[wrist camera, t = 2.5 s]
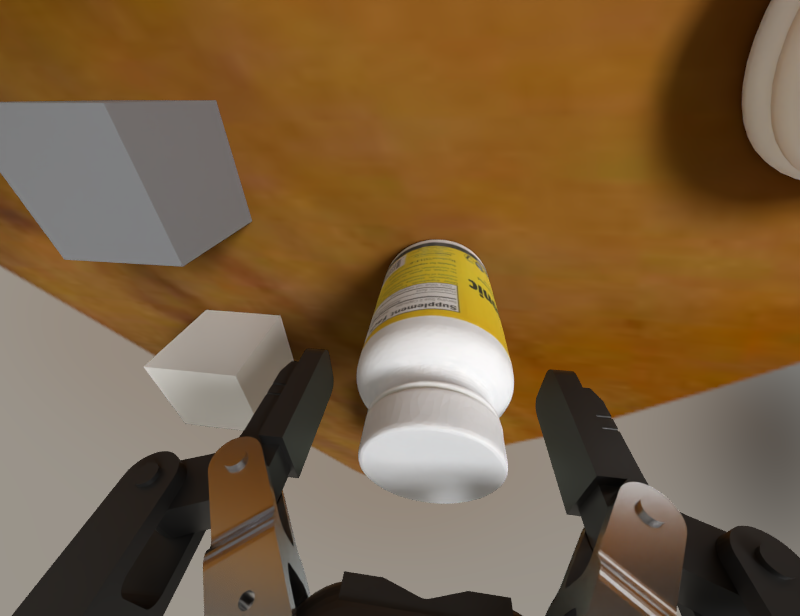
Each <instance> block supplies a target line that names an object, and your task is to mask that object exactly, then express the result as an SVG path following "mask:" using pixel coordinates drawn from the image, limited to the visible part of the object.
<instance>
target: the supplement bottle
mask: <svg viewBox="0 0 800 616" xmlns="http://www.w3.org/2000/svg"><path fill="white" fill-rule="evenodd" d="M357 386H358V390H359V394H360V396H361V398H362V400H363V402H364V404H365V405H366V407H367V408H368V412H367V416H366V420H365V424H364V428H363V433H362V438H361V442H360V447H359V453H358V458H359V464H360V466H361V468H362V470H363V472H364V473H365V475H366V476H367V477H368V478H369V479H370V480H372V481H373V482H374V483H375V484H377V485H378V486H380V487H381V488H383V489H385V490H387V491H389V492H391V493H393V494H396V495H398V496H401V497H404V498H408V499H412V500H416V501H422V502H429V503H439V504H445V503H446V504H449V503H461V502H468V501H472V500H476V499H480V498H482V497H485V496H487V495H489V494H491V493H493V492H494V491H496V490H497V489H498V488H499V487H500V486H501V485H502V484H503V483H504V481H505V479H506V477H507V473H508V462H507V456H506V450H505V444H504V439H503V430H502V426H501V423H500V421H499V418H500V416H501V415H502V414H503V413H504V412H505V410H506V408H507V407H508V405H509V403H510V401H511V398H512V394H513V389H514V376H513V370H512V364H511V360H510V356H509V353H508V349H507V345H506V341H505V337H504V333H503V329H502V325H501V322H500V317H499V314H498V311H497V307H496V303H495V300H494V296H493V292H492V289H491V285H490V281H489V278H488V275H487V272H486V269H485V267H484V265H483V263H482V262H481V261H480V259H479V258H478V257H477V256H476V255H475V254H474V253H473V252H472V251H471V250H469V249H468V248H466V247H465V246H463V245H461V244H458V243H455V242H452V241H448V240H427V241H422V242H419V243H416V244H413V245H411V246H409V247H407V248H406V249H404V250H403V251H402V252H401V253H400V254H398V255H397V256H396V258H395V259H394V260H393V261H392V263H391V265H390V266H389V269H388V271H387V273H386V276H385V279H384V282H383V285H382V288H381V291H380V295H379V298H378V301H377V304H376V308H375V311H374V314H373V317H372V321H371V324H370V327H369V330H368V333H367V336H366V340H365V343H364V346H363V349H362V352H361V355H360V359H359V363H358V367H357Z"/></svg>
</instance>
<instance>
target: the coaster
mask: <svg viewBox="0 0 800 616" xmlns="http://www.w3.org/2000/svg"><path fill="white" fill-rule="evenodd" d="M742 114H743V123H744V126H745V130H746V133H747V137H748V139H749V141H750V142H751V144H752V146H753V148H754V150H755V151H756V152H757V153H758V154H759V155H760V156H761V158H762V159H763V160H764V161H765V162H767V163H768V164H769V165H770V166H772V167H773V168H775V169H776V170H778V171H779V172H780V173H783V174H785V175H787V176H790V177H792V178H794V179H798V180H800V0H771V2H770V3H769V5H768V7H767V9H766V11H765V14H764V16H763V18H762V21H761V23H760V26H759V28H758V31H757V33H756V35H755V38H754V41H753V44H752V47H751V51H750V54H749V57H748V60H747V64H746V69H745V75H744V80H743V86H742Z"/></svg>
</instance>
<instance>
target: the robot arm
mask: <svg viewBox="0 0 800 616" xmlns="http://www.w3.org/2000/svg"><path fill="white" fill-rule="evenodd" d="M332 389H333V373H332V367H331V362H330V357H329V352H328V350H322V349H310V348H308V349H306V350H305V351H304V353H303V355H302V357H301V358H300V360H299V362H298V361H291V362H290V363H289V364H288V365H286V366H285V367H284V368H283V369H282V370H281V371H280V372H279V374H278V375H277V377H276V379H275V380H274V382H273V385H271V387H270V388H269V390H268V392H267V395H265V397H264V398H263V400H262V402H261V403H260V405H259V407H258V408H257V410H256V412H255V413H254V415H253V416H252V418H251V420H250V421H249V423H248V425H247V426H246V428H245V430H244V431H243V433H242V434H241V435H240V437H239V438H236V439H233V440H231V441H229V442H227V443H226V444H225V445H223V446H222V447H221V448H220V449H219V450H218V451H217V452H216V453H214V454H210V455H205V456H200V457H195V458H190V459H185V460H180V459H179V458H178V457H177V456H176V455H175V454H174V453H172V452H168V451H164V452H157V453H154V454H152V455H149V456H147V457H145V458H143V459H142V460H140V461H139V462H137V463H136V464H135V465H133V466H132V467H131V468H130V469H129V470H128V471H127V472H126V473H125V475H124V476H123V477H122V478H121V479H120V481H119V482H118V483H117V485H116V486H115V487H114V488H113V489H112V491H111V492H110V493H109V494H108V496H107V497H106V498H105V499H104V501H103V502H102V503H101V504H100V506H99V507H98V508H97V510H96V511H95V512H94V513H93V515H92V516H91V517H90V518H89V519H88V521H87V522H86V523H85V525H84V526H83V527H82V528H81V530H80V531H79V532H78V533H77V535H76V536H75V537H74V538H73V540H72V541H71V542H70V544H69V545H68V546H67V547H66V548H65V550H64V551H63V552H62V553H61V555H60V556H59V557H58V558H57V560H56V561H55V562H54V563H53V565H52V566H51V567H50V568H49V570H48V571H47V572H46V573H45V575H44V576H43V577H42V578H41V580H40V581H39V582H38V583H37V585H36V586H35V587H34V588H33V590H32V591H31V592H30V593H29V595H28V596H27V597H26V598H25V600H24V601H23V602H22V603H21V605H20V606H19V607H18V608H17V610H16V611H15V612H14V614H13V615H12V616H163V614H164V613H165V611H166V609H167V607H168V605H169V603H170V601H171V599H172V597H173V595H174V593H175V591H176V589H177V587H178V585H179V583H180V581H181V579H182V577H183V575H184V573H185V571H186V569H187V567H188V565H189V563H190V561H191V559H192V557H193V555H194V553H195V551H196V549H197V547H198V545H199V543H200V541H201V539H202V537H203V535H204V533H205V531H206V530H208V529H211V547H210V549H209V550H207V551H206V553H205V556H204V561H203V585H204V616H522V615H520V614H519V613H517V612H515V611H514V610H513V609H512V602H511V598H508V597H502V596H496V595H489V594H483V593H477V592H471V591H466V592H462V593H456V594H451V595H447V596H442V597H436V598H431V599H423V598H420V597H418V596H416V595H415V594H413V593H411V592H409V591H407V590H406V589H404V588H402V587H400V586H398V585H396V584H394V583H393V582H391V581H389V580H387V579H385V578H383V577H376V576H369V575H364V574H358V573H351V572H344V575H343V580H342V582H338V583H334V584H332V585H329V586H326V587H324V588H323V589H321V590H319V591H317V592H315V593H314V594H313V595H310V591H309V587H308V583H307V579H306V575H305V572H304V568H303V565H302V562H301V559H300V556H299V553H298V550H297V546H296V543H295V538H294V534H293V530H292V526H291V522H290V518H289V514H288V509H287V505H286V501H285V497H284V493H283V487H284V485H285V482H286V480H287V478H288V477H293V478H299V476H300V474H301V471H302V468H303V466H304V463H305V460H306V458H307V455H308V453H309V450H310V447H311V445H312V442H313V440H314V437H315V435H316V432H317V429H318V427H319V424H320V422H321V419H322V416H323V414H324V411H325V409H326V406H327V403H328V401H329V398H330V396H331V393H332ZM536 413H537V417H538V420H539V423H540V427H541V430H542V433H543V437H544V440H545V443H546V446H547V450H548V453H549V457H550V460H551V463H552V467H553V470H554V473H555V477H556V480H557V483H558V486H559V490H560V493H561V496H562V500H563V503H564V506H565V510H566V513H567V514H568V515H576V516H581V518H582V521H583V524H584V528H583V530H582V532H581V535H580V537H579V540H578V543H577V545H576V548H575V550H574V553H573V555H572V558H571V561H570V563H569V566H568V568H567V571H566V573H565V576H564V579H563V581H562V584H561V586H560V589H559V591H558V593H557V594H556V596H555V598H554V599H553V601H552V603H551V604H550V606H549V608H548V610H547V613H546V615H545V616H676V612H677V606H678V608H679V610H680V613H681V615H682V616H800V558H799V557H798V556H797V555H796V554H795V553H794V552H793V551H792V550H791V549H789V548H788V547H787V546H786V545H784V544H783V543H782V542H780V541H779V540H777V539H776V538H774V537H772V536H771V535H769V534H767V533H765V532H763V531H761V530H758V529H756V528H753V527H749V526H737V527H735V528H733V529H731V530H730V531H728V532H725V531H723V530H720V529H718V528H716V527H713V526H711V525H709V524H706V523H704V522H701V521H699V520H696V519H694V518H692V517H689V516H687V515H685V514H683V513H681V512H679V511H678V509H677V508H676V506H675V505H674V504H673V503H672V502H671V501H670V500H669V499H668V498H667V497H666V496H664V495H663V494H662V493H661V492H659V491H658V490H656V489H654V488H652V487H651V486H649V485H648V483H647V482H646V480H645V478H644V477H643V475H642V473H641V471H640V469H639V467H638V466H637V463H636V462H635V460H634V458H633V456H632V454H631V452H630V450H629V449H628V447H627V445H626V443H625V441H624V439H623V437H622V435H621V434H620V432H618V430H617V429H618V428H617V426H616V424H615V422H614V421H613V419H611V415H610V413H609V411H608V409H607V408H606V406H605V404H604V402H603V401H602V400H601V399H600V398H599V397H598V396H597V395H596V394H595V393H594V392H593V391H592V390H591V389H590V388H583V387H582V385H581V383H580V381H579V379H578V377H577V375H576V374H575V373H574V372H573V371H562V370H548V371H547V373H546V375H545V378H544V380H543V383H542V385H541V388H540V390H539V393H538V395H537V398H536Z"/></svg>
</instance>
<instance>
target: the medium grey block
mask: <svg viewBox="0 0 800 616" xmlns="http://www.w3.org/2000/svg"><path fill="white" fill-rule="evenodd" d="M0 172H1V174H2V175H3V177H4V178H5V179H6V181H7V182H8V183H9V185H10V186H11V187H12V189H13V190H14V191H15V193H16V194H17V196H18V197H19V198H20V200H21V201H22V202H23V204H24V205H25V206H26V208H27V209H28V211H29V212H30V213H31V215H32V216H33V217H34V219H35V220H36V221H37V223H38V224H39V225H40V227H41V228H42V230H43V231H44V232H45V234H46V235H47V236H48V238H49V239H50V240H51V242H52V243H53V245H54V246H55V247H56V249H57V250H58V251H59V253H60V254H61V255H62V257H63V258H64V259H66V260H83V261H99V262H116V263H133V264H149V265H166V266H184V265H186V264H187V263H189V262H190V261H192V260H194V259H195V258H197V257H198V256H200V255H201V254H203V253H204V252H206V251H207V250H209V249H210V248H212V247H213V246H215V245H216V244H218V243H220V242H221V241H223V240H224V239H226V238H227V237H229V236H230V235H232V234H233V233H235V232H236V231H238V230H239V229H241V228H242V227H244V226H245V225H247V224H249V223H250V222H252V219H251V216H250V213H249V209H248V206H247V203H246V199H245V196H244V193H243V189H242V186H241V182H240V179H239V176H238V172H237V169H236V166H235V162H234V159H233V156H232V152H231V149H230V146H229V142H228V139H227V136H226V132H225V129H224V126H223V122H222V119H221V116H220V112H219V109H218V106H217V102H216V100H105V101H34V102H0Z"/></svg>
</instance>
